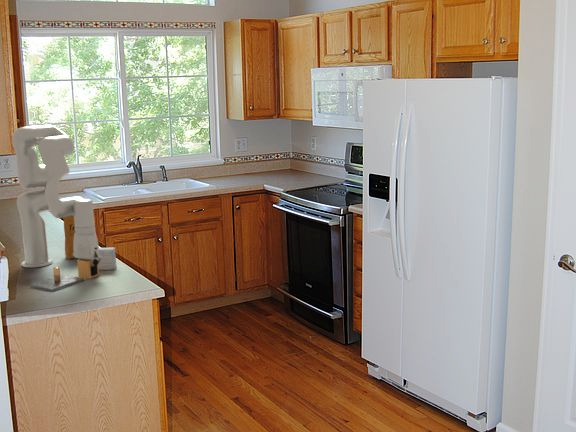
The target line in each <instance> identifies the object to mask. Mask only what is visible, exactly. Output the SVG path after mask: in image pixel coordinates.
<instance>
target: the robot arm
mask: <svg viewBox="0 0 576 432" xmlns="http://www.w3.org/2000/svg"><path fill="white" fill-rule="evenodd" d="M11 138H12V139H11V140H12V147H13V150H14V153H15V156H16V165H17V176H18V183H19V185H20V187H21V188H22V189H25V190H26V189H27V190H29V189H36V188H37V189H38V188H41V189H38V190H31V191H27V192H24V193H21V194H20V195H19V196H18V197H17V198H16V205H17V206H16V207H17V211H18V213H19V217H20V224H21V231H22V242H23V251H24V260H23V261H22V262H21V266H22V268H32V269H33V268H41V267H46V266H49V265H51V264H53V262H54V261H53V259H52V258H50V257H49V248H48V239H47V238H48V237H47V228H46V222H45V220H44V218H43V217H42V216H41V215H40V213H45V212H50V213H51V215H52V216H53V217H54V218H57V219H63V218H65V217H69V216H74V221H75V234H74V240H73V251H74V253H73V256H74V257H75V258H74V259H75V260H76V261H77V260H80V259H86V260H90V263H91V266H90V268H91V276H94V275H97V274H98V269H97V265H98V263H99V262H100V260H101V259H102V256H101V255H100V253H99V248H100V245H99V241H98V237H97V236H98V235H97V234H96V227H95V226H96V225H95V215H94V214H95V213H94V203H93V200H92V199H90V198H83V197H82V196H79V195H77V196H70V197H63V198H60V197H59V185H58V182H59V181H60V180H62V179H64V178H65V177H67V176H68V175H69V174H70V172H71V171H70V168H69V165H68V163H67V159H66V156H71V155H72V154H73V153H74V151H75V144H74V141H73V140H72V139H71V137H70V136H69V135H68V134H67V133H65V132H64V131H62V130H61V129H59V128H58V127H57V126H55V125H52V124H43V125H42V124H39V125H27V126H20V127H19V128H17V129H15V130H14V132H13V134H12V137H11ZM33 147H37V149H38V151H39V155H40V157H41V159H42V162H43V164H39V155H38V153H37V151H36V149H34V148H33ZM93 259H94V262H93Z"/></svg>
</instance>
